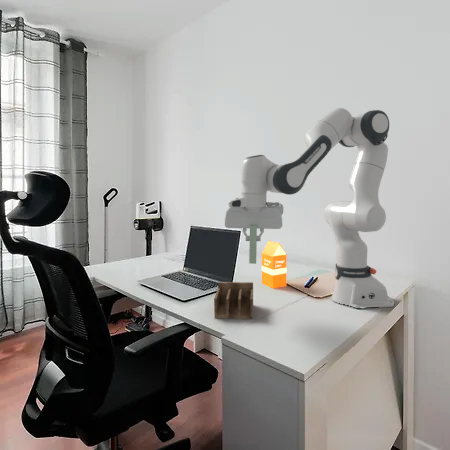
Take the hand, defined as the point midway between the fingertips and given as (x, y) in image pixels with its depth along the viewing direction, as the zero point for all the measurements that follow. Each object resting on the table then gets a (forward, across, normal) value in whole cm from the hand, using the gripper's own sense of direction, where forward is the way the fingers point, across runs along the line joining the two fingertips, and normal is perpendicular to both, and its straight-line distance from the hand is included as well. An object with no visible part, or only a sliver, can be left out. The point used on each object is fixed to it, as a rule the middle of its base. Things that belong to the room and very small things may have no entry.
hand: (253, 240), depth 117 cm
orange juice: (+26, -10, -33) cm, 43 cm away
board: (+7, 0, 0) cm, 7 cm away
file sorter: (+26, +6, -1) cm, 27 cm away
